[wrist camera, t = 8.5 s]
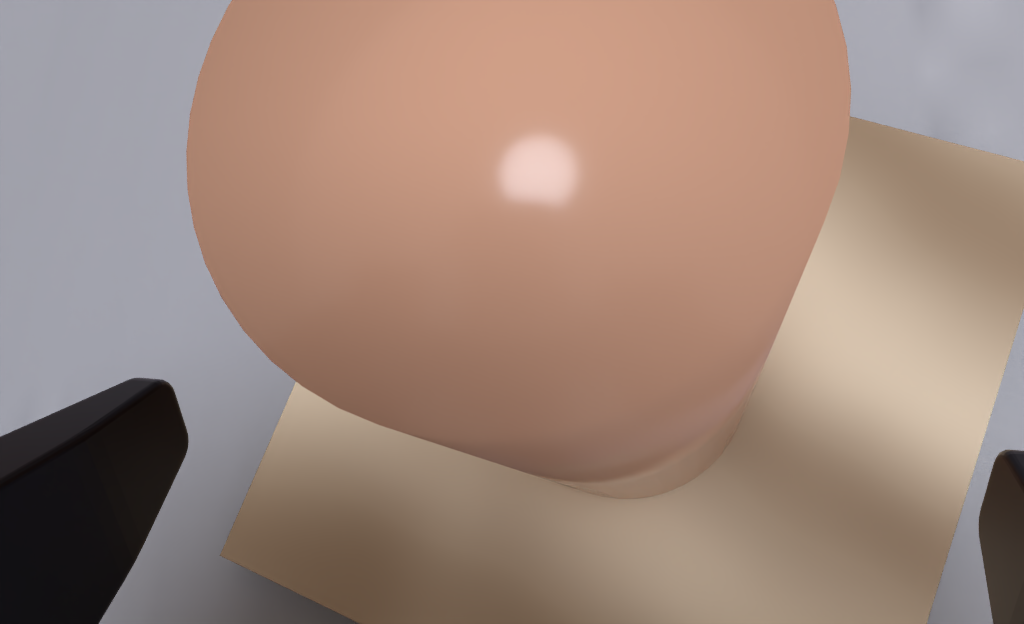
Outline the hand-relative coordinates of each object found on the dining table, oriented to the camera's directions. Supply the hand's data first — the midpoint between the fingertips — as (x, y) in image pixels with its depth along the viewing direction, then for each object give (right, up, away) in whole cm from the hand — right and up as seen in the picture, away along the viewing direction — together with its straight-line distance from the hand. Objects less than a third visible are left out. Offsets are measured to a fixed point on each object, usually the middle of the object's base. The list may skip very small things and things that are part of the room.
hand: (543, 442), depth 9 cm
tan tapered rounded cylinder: (+2, 0, +9) cm, 9 cm away
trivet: (+2, 0, +10) cm, 10 cm away
